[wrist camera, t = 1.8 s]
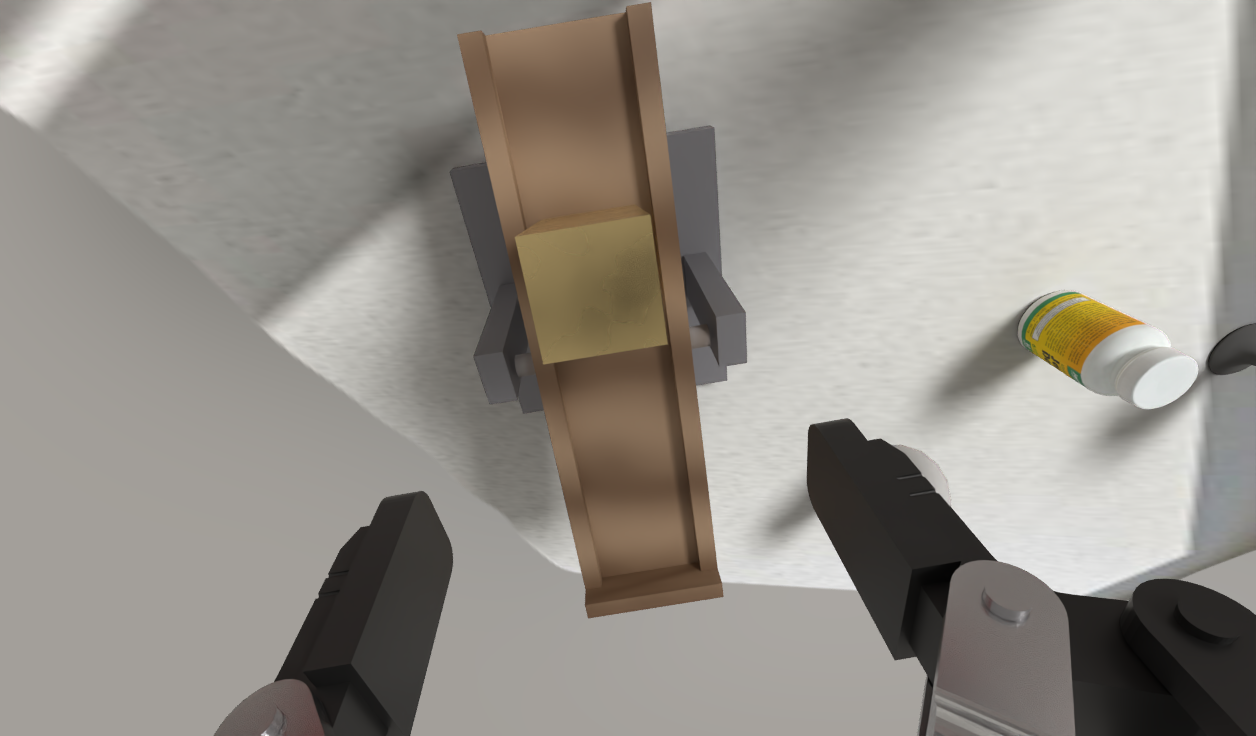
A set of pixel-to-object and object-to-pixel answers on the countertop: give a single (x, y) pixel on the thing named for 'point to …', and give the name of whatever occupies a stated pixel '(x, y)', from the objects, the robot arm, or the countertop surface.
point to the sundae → (1235, 351)
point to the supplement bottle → (1106, 349)
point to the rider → (593, 283)
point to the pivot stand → (698, 258)
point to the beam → (618, 382)
